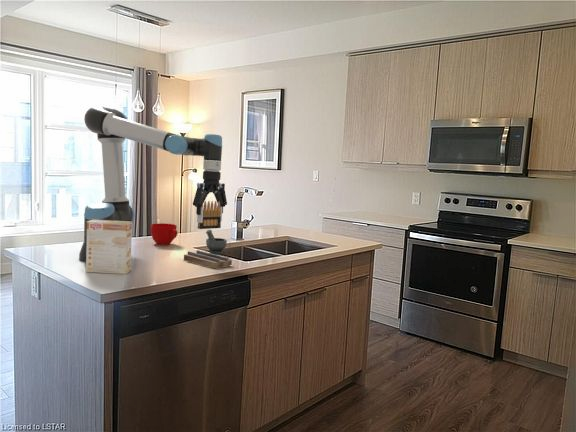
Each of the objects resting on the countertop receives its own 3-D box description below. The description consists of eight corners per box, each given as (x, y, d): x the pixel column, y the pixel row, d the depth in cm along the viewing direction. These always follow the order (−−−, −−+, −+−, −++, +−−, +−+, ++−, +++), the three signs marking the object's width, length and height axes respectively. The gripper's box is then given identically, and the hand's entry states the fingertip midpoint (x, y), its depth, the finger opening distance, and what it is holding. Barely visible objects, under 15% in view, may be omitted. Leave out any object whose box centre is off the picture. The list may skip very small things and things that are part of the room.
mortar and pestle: (217, 250, 233) (218, 227, 232) (229, 254, 227) (231, 230, 226) (199, 253, 225) (200, 228, 224) (211, 256, 219) (213, 231, 217)
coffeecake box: (131, 270, 182) (132, 221, 180) (125, 274, 175) (127, 223, 173) (92, 268, 182) (93, 218, 179) (85, 272, 174) (86, 220, 172)
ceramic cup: (165, 248, 230) (166, 228, 229) (144, 243, 240) (145, 224, 239) (186, 246, 241) (186, 226, 239) (165, 241, 251) (165, 222, 250)
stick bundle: (214, 268, 194) (214, 260, 194) (183, 260, 206) (184, 252, 206) (231, 265, 202) (232, 257, 201) (201, 257, 214) (201, 249, 214)
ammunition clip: (199, 229, 198) (201, 201, 197) (197, 228, 199) (198, 200, 198) (220, 228, 205) (222, 201, 204) (218, 227, 207) (219, 200, 205)
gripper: (197, 170, 188) (194, 224, 191) (237, 172, 206) (234, 221, 209) (185, 169, 193) (183, 222, 195) (225, 171, 211) (222, 219, 213)
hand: (209, 221), depth 202 cm, fingers closed on ammunition clip, 10 cm apart
